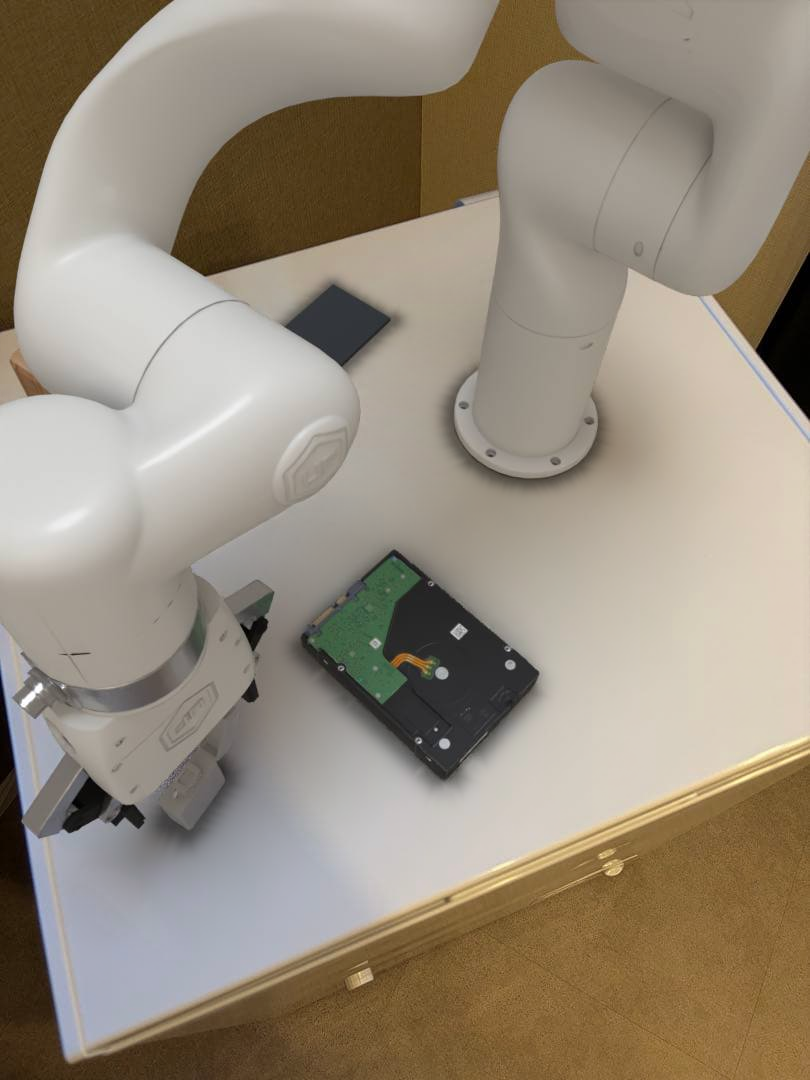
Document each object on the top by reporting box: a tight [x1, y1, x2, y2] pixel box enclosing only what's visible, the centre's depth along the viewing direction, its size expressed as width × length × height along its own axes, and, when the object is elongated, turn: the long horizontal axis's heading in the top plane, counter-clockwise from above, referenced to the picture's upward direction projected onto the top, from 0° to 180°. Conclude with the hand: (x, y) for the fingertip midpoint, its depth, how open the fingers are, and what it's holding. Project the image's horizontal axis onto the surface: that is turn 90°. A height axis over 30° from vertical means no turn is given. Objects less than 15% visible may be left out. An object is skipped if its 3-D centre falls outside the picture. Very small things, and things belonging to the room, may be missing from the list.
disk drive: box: [300, 548, 540, 781], centre depth 65 cm, size 10×3×15 cm
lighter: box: [158, 704, 240, 831], centre depth 58 cm, size 7×2×8 cm, turn 149°
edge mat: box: [284, 283, 391, 368], centre depth 83 cm, size 8×7×1 cm
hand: (182, 745), depth 54 cm, fingers open, 9 cm apart
